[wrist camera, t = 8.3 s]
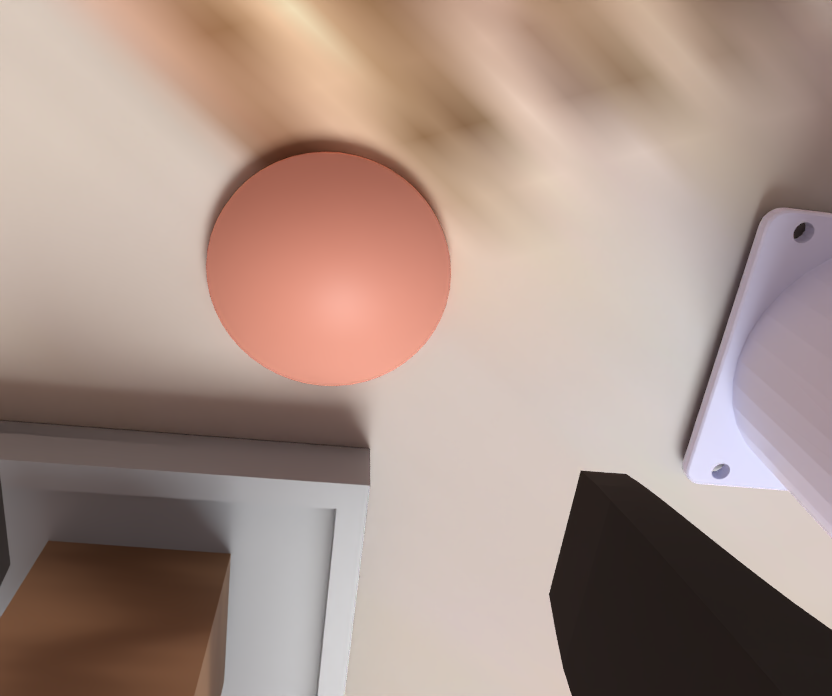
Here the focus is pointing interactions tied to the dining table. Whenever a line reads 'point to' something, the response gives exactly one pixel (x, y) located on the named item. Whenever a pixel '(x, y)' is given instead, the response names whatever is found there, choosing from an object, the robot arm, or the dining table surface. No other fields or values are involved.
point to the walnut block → (117, 623)
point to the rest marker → (328, 268)
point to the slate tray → (209, 531)
